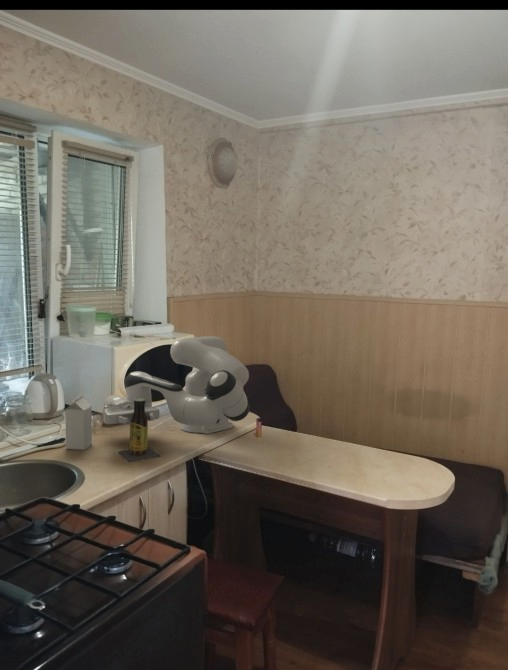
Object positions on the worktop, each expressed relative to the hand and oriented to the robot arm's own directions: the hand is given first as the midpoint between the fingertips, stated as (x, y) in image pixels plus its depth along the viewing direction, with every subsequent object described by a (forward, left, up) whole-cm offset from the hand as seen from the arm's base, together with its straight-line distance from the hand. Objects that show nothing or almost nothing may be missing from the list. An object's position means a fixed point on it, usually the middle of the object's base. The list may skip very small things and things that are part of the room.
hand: (139, 419), depth 194 cm
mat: (0, -2, -13) cm, 14 cm away
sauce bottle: (0, -2, -13) cm, 13 cm away
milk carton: (+16, -21, -14) cm, 29 cm away
